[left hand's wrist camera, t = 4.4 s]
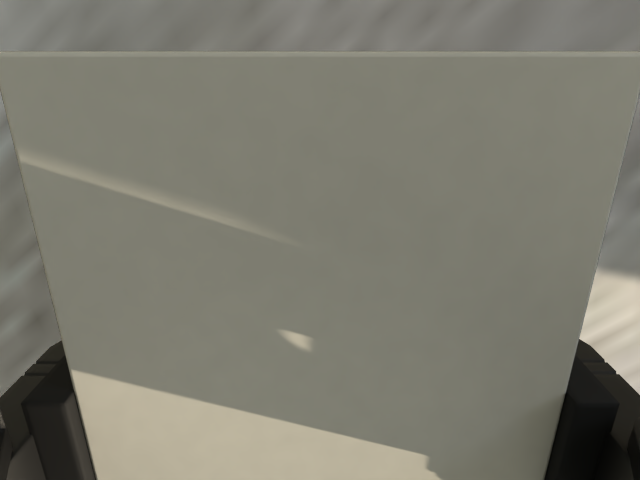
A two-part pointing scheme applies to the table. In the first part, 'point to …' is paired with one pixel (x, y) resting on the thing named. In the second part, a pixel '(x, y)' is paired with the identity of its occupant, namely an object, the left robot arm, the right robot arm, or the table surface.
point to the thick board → (320, 252)
